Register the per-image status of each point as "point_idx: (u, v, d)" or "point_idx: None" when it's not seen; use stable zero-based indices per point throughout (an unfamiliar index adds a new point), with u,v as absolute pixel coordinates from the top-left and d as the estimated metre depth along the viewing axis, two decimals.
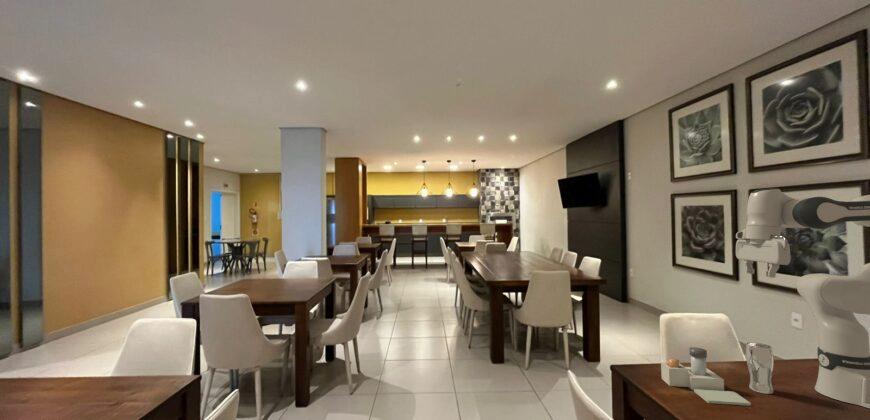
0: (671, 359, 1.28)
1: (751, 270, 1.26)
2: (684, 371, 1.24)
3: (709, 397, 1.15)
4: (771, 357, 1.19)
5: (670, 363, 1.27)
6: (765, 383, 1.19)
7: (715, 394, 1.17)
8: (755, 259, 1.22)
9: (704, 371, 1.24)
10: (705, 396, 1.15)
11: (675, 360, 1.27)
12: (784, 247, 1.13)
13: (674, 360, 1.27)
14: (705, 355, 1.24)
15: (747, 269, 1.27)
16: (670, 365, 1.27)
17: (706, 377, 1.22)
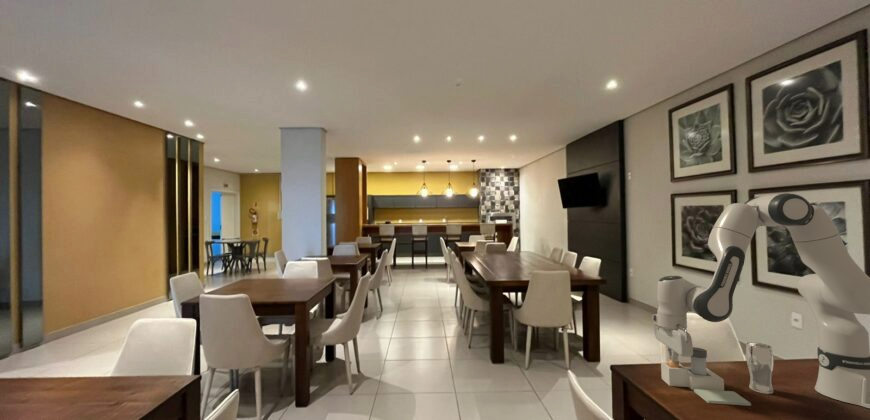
0: (671, 360, 1.28)
1: None
2: (684, 371, 1.24)
3: (709, 397, 1.15)
4: (771, 357, 1.19)
5: (670, 364, 1.27)
6: (765, 383, 1.19)
7: (715, 394, 1.17)
8: (667, 345, 1.28)
9: (704, 371, 1.24)
10: (705, 396, 1.15)
11: None
12: (686, 340, 1.18)
13: None
14: (705, 355, 1.24)
15: (669, 355, 1.29)
16: (670, 366, 1.27)
17: (706, 377, 1.22)
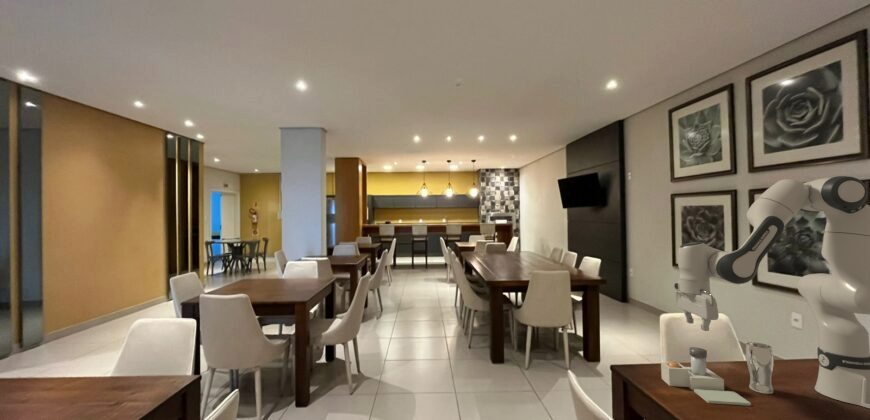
0: (671, 363, 1.28)
1: (690, 320, 1.31)
2: (684, 371, 1.24)
3: (709, 397, 1.15)
4: (771, 357, 1.19)
5: None
6: (765, 383, 1.19)
7: (715, 394, 1.17)
8: (691, 311, 1.27)
9: (704, 371, 1.24)
10: (705, 396, 1.15)
11: (675, 364, 1.27)
12: (711, 303, 1.18)
13: (674, 364, 1.27)
14: (705, 355, 1.24)
15: (687, 319, 1.32)
16: None
17: (706, 377, 1.22)
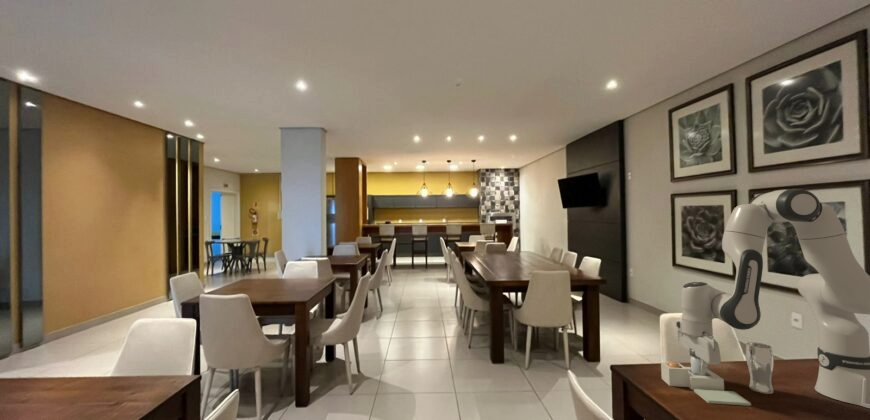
0: (671, 363, 1.28)
1: None
2: (684, 371, 1.24)
3: (709, 397, 1.15)
4: (771, 357, 1.19)
5: None
6: (765, 383, 1.19)
7: (715, 394, 1.17)
8: None
9: None
10: (705, 396, 1.15)
11: (675, 364, 1.27)
12: (713, 348, 1.17)
13: (674, 364, 1.27)
14: None
15: None
16: None
17: (706, 377, 1.22)
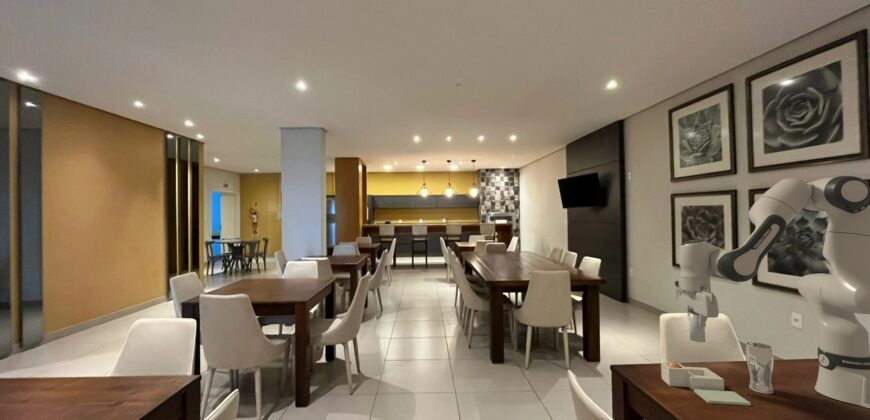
0: (671, 363, 1.28)
1: None
2: (684, 371, 1.24)
3: (709, 397, 1.15)
4: (771, 357, 1.19)
5: None
6: (765, 383, 1.19)
7: (715, 394, 1.17)
8: None
9: None
10: (705, 396, 1.15)
11: (675, 364, 1.27)
12: (711, 301, 1.18)
13: (674, 364, 1.27)
14: None
15: None
16: None
17: (706, 377, 1.22)
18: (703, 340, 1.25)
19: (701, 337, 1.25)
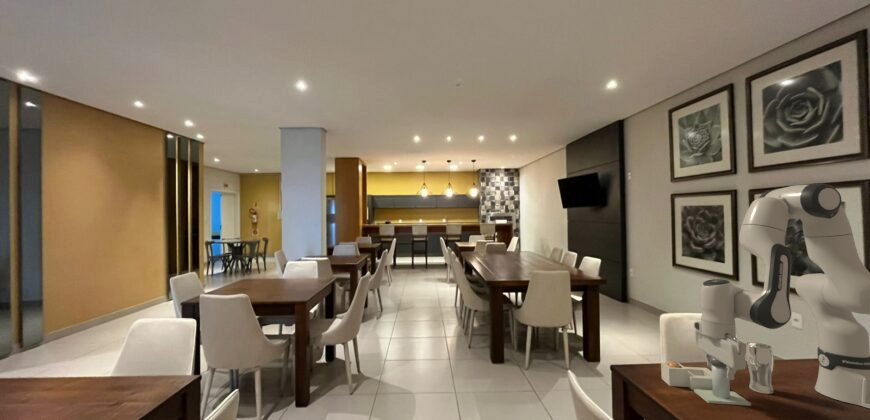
0: (671, 363, 1.28)
1: None
2: (684, 371, 1.24)
3: (709, 397, 1.15)
4: (771, 357, 1.19)
5: None
6: (765, 383, 1.19)
7: None
8: (713, 356, 1.16)
9: (727, 382, 1.14)
10: (705, 396, 1.15)
11: (675, 364, 1.27)
12: (738, 351, 1.07)
13: (674, 364, 1.27)
14: None
15: (708, 363, 1.21)
16: None
17: (706, 377, 1.22)
18: (728, 396, 1.14)
19: (725, 393, 1.14)
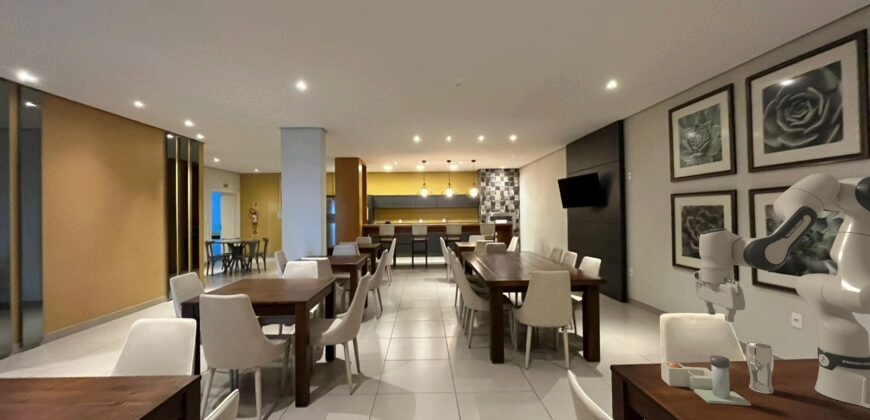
0: (671, 363, 1.28)
1: (712, 311, 1.24)
2: (684, 371, 1.24)
3: (709, 397, 1.15)
4: (771, 357, 1.19)
5: None
6: (765, 383, 1.19)
7: None
8: (713, 302, 1.20)
9: (726, 382, 1.14)
10: (705, 396, 1.15)
11: (675, 364, 1.27)
12: (737, 293, 1.11)
13: (674, 364, 1.27)
14: (728, 364, 1.14)
15: (708, 310, 1.25)
16: None
17: (706, 377, 1.22)
18: (728, 396, 1.14)
19: (725, 393, 1.14)
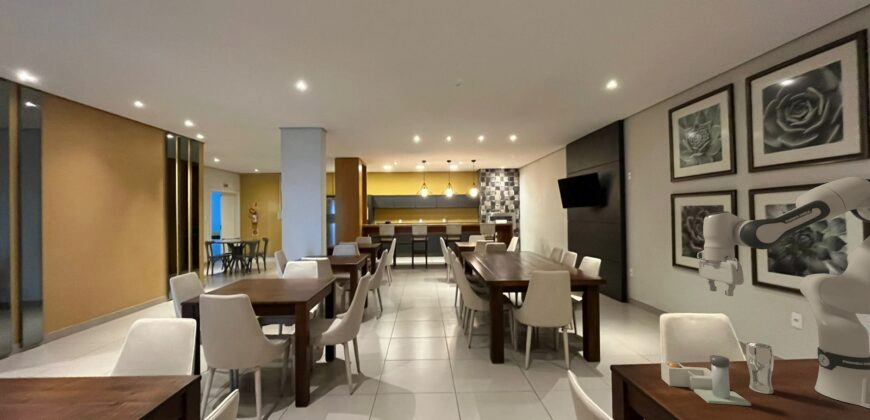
0: (671, 363, 1.28)
1: (713, 288, 1.35)
2: (684, 371, 1.24)
3: (709, 397, 1.15)
4: (771, 357, 1.19)
5: None
6: (765, 383, 1.19)
7: None
8: (715, 278, 1.31)
9: (726, 381, 1.14)
10: (705, 396, 1.15)
11: (675, 364, 1.27)
12: (737, 268, 1.21)
13: (674, 364, 1.27)
14: (728, 364, 1.14)
15: (710, 287, 1.36)
16: None
17: (706, 377, 1.22)
18: (728, 396, 1.14)
19: (725, 393, 1.14)
